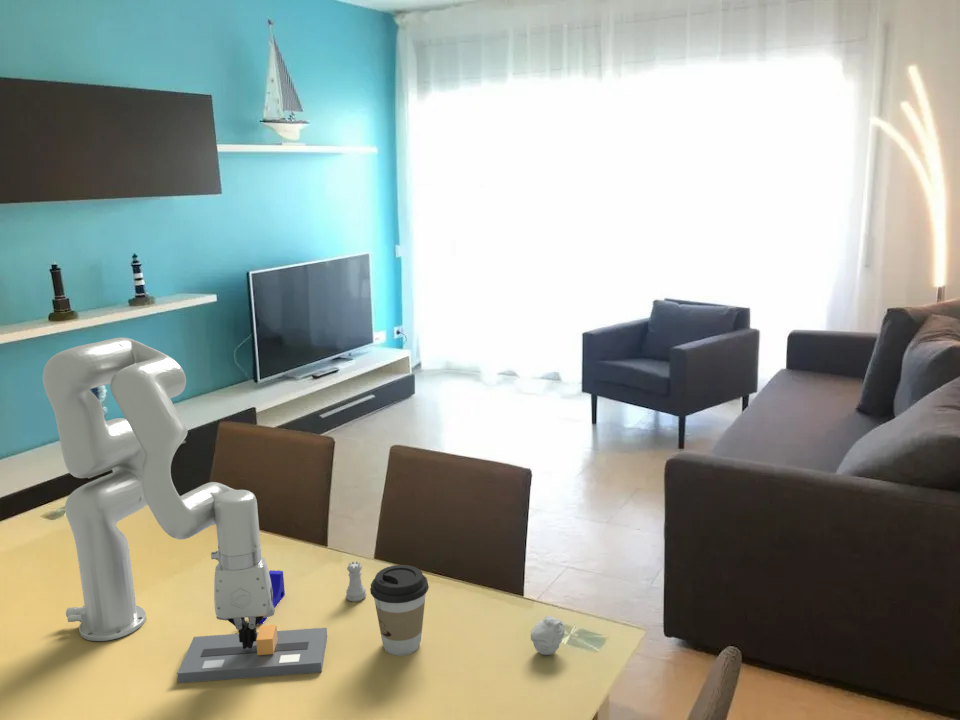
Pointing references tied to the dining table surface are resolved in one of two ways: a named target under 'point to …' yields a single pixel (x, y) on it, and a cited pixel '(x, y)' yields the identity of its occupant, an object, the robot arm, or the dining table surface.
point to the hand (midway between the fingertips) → (248, 644)
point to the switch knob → (266, 639)
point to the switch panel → (253, 656)
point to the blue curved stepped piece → (276, 588)
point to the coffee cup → (400, 607)
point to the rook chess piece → (355, 583)
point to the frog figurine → (548, 635)
